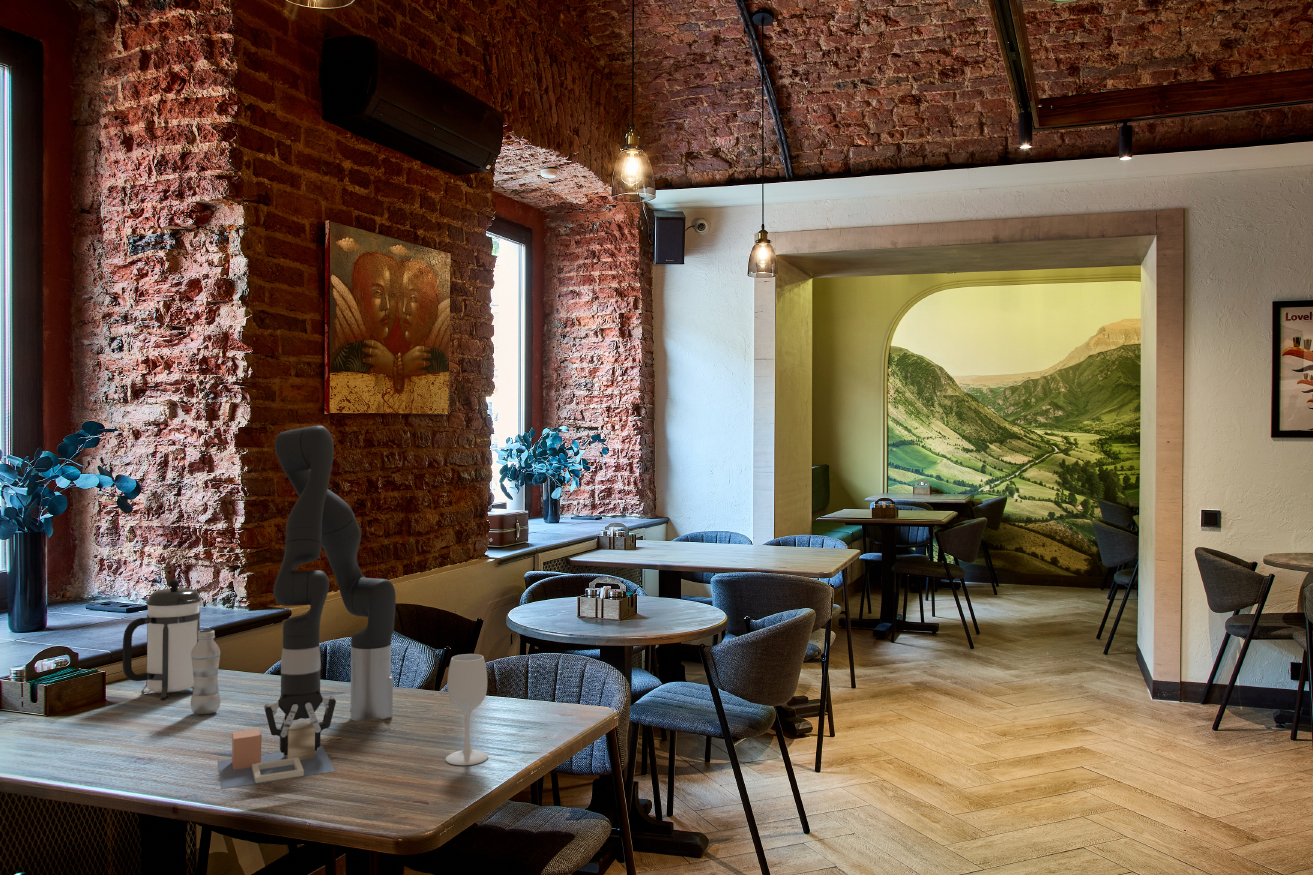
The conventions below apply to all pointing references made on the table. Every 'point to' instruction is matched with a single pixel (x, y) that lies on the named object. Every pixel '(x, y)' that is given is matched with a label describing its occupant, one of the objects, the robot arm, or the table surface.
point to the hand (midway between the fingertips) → (299, 751)
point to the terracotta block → (246, 748)
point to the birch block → (301, 741)
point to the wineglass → (467, 700)
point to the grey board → (273, 769)
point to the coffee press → (167, 640)
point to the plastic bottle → (205, 674)
